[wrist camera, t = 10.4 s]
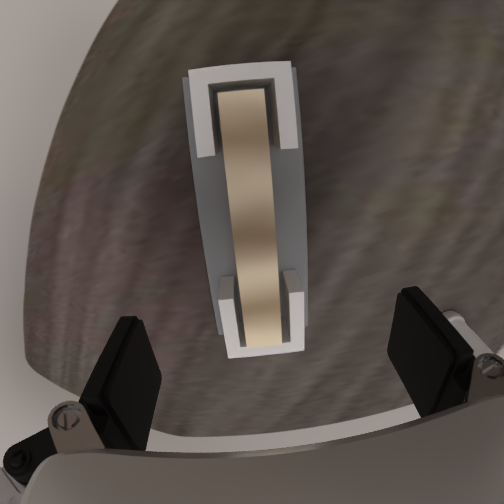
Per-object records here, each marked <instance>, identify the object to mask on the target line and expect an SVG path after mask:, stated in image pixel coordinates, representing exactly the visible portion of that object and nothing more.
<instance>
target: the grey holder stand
mask: <svg viewBox="0 0 504 504" xmlns="http://www.w3.org/2000/svg"><path fill="white" fill-rule="evenodd" d="M188 72H189V77H184V78H182V81H183V91H184V102H185V111H186V121H187V130H188V138H189V147H190V155H191V163H192V171H193V179H194V186H195V193H196V201H197V208H198V215H199V221H200V228H201V235H202V241H203V247H204V254H205V260H206V266H207V272H208V278H209V284H210V290H211V295H212V301H213V307H214V312H215V318H216V323H217V328H218V334H219V335H224V337H225V342H226V348H227V353H228V358H239V357H250V356H261V355H270V354H279V353H288V352H296V351H304V326H308V258H307V222H306V197H305V177H304V160H303V145H302V131H301V118H300V106H299V95H298V84H297V74H296V67H292V68H291V61H275V62H257V63H243V64H232V65H223V66H214V67H207V68H199V69H193V70H188ZM251 89H264V94H265V104H266V115H267V126H268V138H269V149H270V162H271V174H272V187H273V200H274V214H275V229H276V244H277V259H278V276H279V293H280V312H281V332H282V345H276V346H266V347H256V348H247V345H246V337H245V330H244V322H243V314H242V306H241V298H240V290H239V282H238V274H237V266H236V258H235V250H234V241H233V233H232V224H231V216H230V207H229V198H228V189H227V180H226V171H225V162H224V153H223V143H222V134H221V124H220V114H219V104H218V94H217V93H220V92H229V91H239V90H251Z"/></svg>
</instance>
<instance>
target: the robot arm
mask: <svg viewBox="0 0 504 504" xmlns="http://www.w3.org/2000/svg"><path fill="white" fill-rule="evenodd" d="M387 352H388V356H389V358H390V360H391V362H392V364H393V365H394V367H395V369H396V371H397V373H398V375H399V376H400V378H401V380H402V382H403V384H404V386H405V388H406V390H407V391H408V393H409V395H410V397H411V399H412V401H413V403H414V405H415V407H416V409H417V411H418V413H419V415H420V416H421V418H419V419H416V420H413V421H410V422H407V423H404V424H400V425H396V426H393V427H389V428H385V429H382V430H378V431H374V432H370V433H365V434H361V435H357V436H352V437H347V438H343V439H338V440H332V441H327V442H322V443H315V444H308V445H302V446H294V447H287V448H278V449H268V450H256V451H242V452H221V453H180V452H151V451H145V450H146V446H147V441H148V436H149V431H150V428H151V423H152V419H153V414H154V410H155V406H156V402H157V397H158V393H159V389H160V385H161V380H162V377H161V372H160V369H159V366H158V364H157V361H156V358H155V356H154V353H153V350H152V347H151V344H150V341H149V339H148V336H147V333H146V330H145V327H144V324H143V321H142V320H138V318H137V317H136V316H123V317H120V319H119V321H118V323H117V324H116V326H115V328H114V330H113V332H112V334H111V336H110V338H109V340H108V342H107V344H106V346H105V348H104V350H103V352H102V354H101V355H100V357H99V359H98V361H97V363H96V365H95V367H94V369H93V371H92V373H91V376H90V378H89V380H88V382H87V384H86V386H85V388H84V391H83V393H82V395H81V397H80V399H79V402H76V401H65V402H62V403H60V404H58V405H57V406H55V407H54V408H53V409H52V410H51V412H50V414H49V416H48V426H49V427H48V428H46V429H44V430H42V431H40V432H38V433H36V434H34V435H32V436H30V437H28V438H26V439H25V440H23V441H21V442H19V443H17V444H15V445H13V446H12V447H10V448H9V449H8V450H7V451H6V453H5V455H4V459H3V465H4V466H3V467H2V468H1V467H0V504H504V359H503V358H501V357H500V356H498V355H495V354H492V353H484V354H481V355H479V356H477V358H476V357H475V356H474V355H473V353H474V350H473V349H472V347H471V346H470V345H469V344H468V343H467V341H466V340H465V339H464V338H463V337H462V336H461V334H460V333H459V332H458V331H457V330H456V328H455V327H454V326H453V325H452V324H451V323H450V322H449V320H448V319H447V318H446V317H445V316H444V315H443V314H442V313H441V311H440V310H439V309H438V308H437V307H436V306H435V305H434V304H433V303H432V301H431V300H430V299H429V298H428V297H427V296H426V295H425V294H424V293H423V292H422V291H421V290H420V289H419V287H417V286H413V287H408V288H403V289H402V290H401V293H398V295H397V300H396V306H395V312H394V318H393V323H392V328H391V333H390V338H389V343H388V348H387Z"/></svg>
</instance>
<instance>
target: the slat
mask: <svg viewBox="0 0 504 504" xmlns="http://www.w3.org/2000/svg"><path fill="white" fill-rule="evenodd" d="M217 94H218V104H219V114H220V124H221V134H222V143H223V153H224V162H225V171H226V180H227V189H228V198H229V207H230V216H231V224H232V233H233V241H234V250H235V258H236V266H237V274H238V282H239V290H240V298H241V306H242V314H243V322H244V330H245V337H246V345H247V348H256V347H266V346H276V345H282V332H281V312H280V293H279V276H278V259H277V244H276V229H275V214H274V200H273V187H272V174H271V162H270V149H269V138H268V126H267V115H266V104H265V94H264V89H251V90H239V91H229V92H220V93H217Z"/></svg>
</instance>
